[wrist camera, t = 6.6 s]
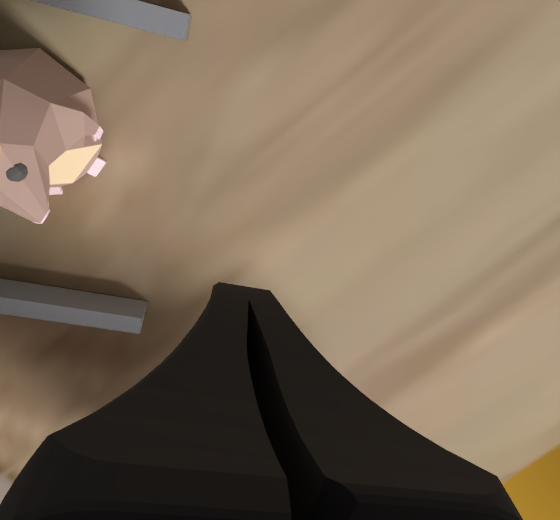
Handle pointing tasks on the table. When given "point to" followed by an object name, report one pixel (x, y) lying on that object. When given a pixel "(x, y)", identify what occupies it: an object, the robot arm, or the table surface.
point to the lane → (72, 303)
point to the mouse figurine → (43, 131)
